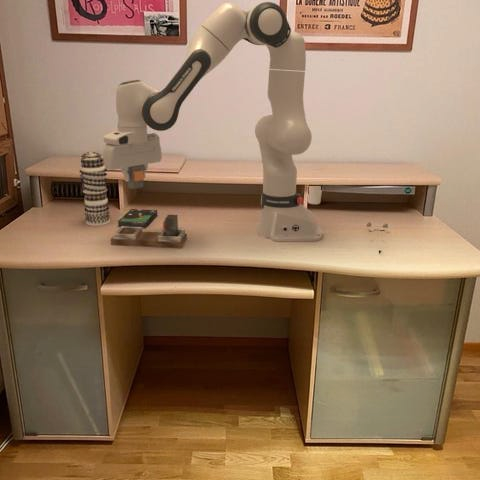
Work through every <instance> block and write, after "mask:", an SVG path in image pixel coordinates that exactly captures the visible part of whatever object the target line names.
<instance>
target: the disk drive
mask: <svg viewBox="0 0 480 480" xmlns="http://www.w3.org/2000/svg"><path fill="white" fill-rule="evenodd" d="M157 217H158V210H156V209H141V210H138V209H137V208H131V209H130V210H128V212H126V213H125V214H124V215H123V216H122V217H121V218H119V220H118V221H117V223H118V225H117V226H118V228H120V227H121V226H127V227H142V229H147V228H148V227H149V226H150V225H151V223H153V221H154V220H155V219H156V218H157Z"/></svg>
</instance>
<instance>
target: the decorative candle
mask: <svg viewBox="0 0 480 480" xmlns="http://www.w3.org/2000/svg"><path fill="white" fill-rule="evenodd" d="M79 160H80V163H81V164H80V165H81V166H80V170H79V173H80V175H79V177H80V182H81V183H82V184H81V188H82V193H83V195H84V199H83V200H84V204H83V206H84V211H85V213H84V215H85V223H86V225H88V226H93V227H94V226H96V227H97V226H105V225H107V224H109V223H110V222H111V219H110V218H111V216H110V210H109V209H110V206H109V205H110V203H109V201H108V197H107V191H108V188H107V186H108V182H107V181H108V179H107V178H106V176H107V175H108V173H107V171H108V169H107V168H106V167H105V166H104V162H103V155H102V154H101V153H100V152H99V151H98V152H97V151H87V152H83V153H82V155H81V156H80V157H79Z"/></svg>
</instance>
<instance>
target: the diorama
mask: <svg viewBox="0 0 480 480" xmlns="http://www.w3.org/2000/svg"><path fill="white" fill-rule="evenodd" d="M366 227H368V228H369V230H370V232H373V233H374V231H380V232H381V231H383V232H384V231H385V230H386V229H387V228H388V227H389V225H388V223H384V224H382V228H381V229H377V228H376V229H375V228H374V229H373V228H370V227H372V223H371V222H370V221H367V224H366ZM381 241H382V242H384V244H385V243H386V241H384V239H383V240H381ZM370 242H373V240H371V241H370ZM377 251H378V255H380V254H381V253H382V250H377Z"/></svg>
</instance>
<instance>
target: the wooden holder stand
mask: <svg viewBox="0 0 480 480" xmlns="http://www.w3.org/2000/svg"><path fill="white" fill-rule="evenodd" d="M178 217H179V216H178V214H167V216H166V217H164V219H165V220H164V221H163V222H162V225H163V229H162V231H161V232H159V231H143V228H142V227H127V226H121V227H118V229H117V230H116V231H115V232H114V233H113V235H112V236H111V238H110V245H111V246H112V245H113V246H128V245H135V246H134V247H147V246H148V247H149V248H150V247H152V248H166V247H168V248H169V247H170V248H172V249H183V247H184V246H185V244H186V242H187V240H188V233H186V229H183V228H179V219H178ZM183 245H184V246H183ZM168 248H167V249H168Z"/></svg>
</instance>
